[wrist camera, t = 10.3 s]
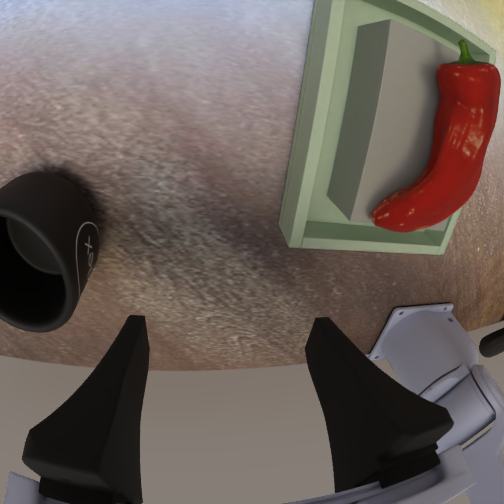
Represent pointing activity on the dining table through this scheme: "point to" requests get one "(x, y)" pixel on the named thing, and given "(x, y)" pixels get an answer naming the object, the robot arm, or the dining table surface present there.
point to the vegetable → (449, 147)
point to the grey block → (387, 117)
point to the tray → (330, 121)
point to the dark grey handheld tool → (492, 344)
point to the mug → (44, 250)
